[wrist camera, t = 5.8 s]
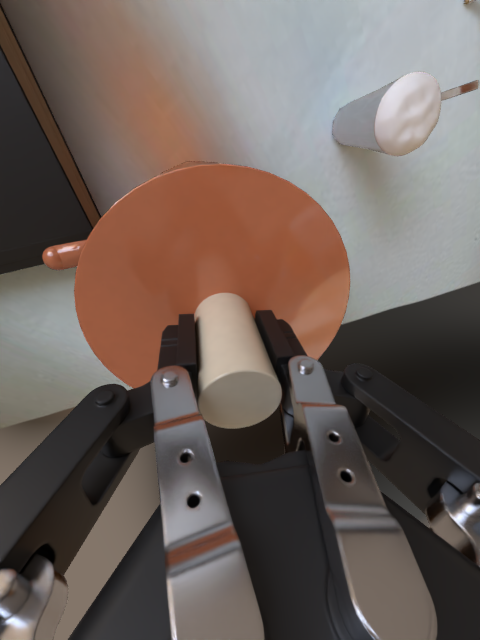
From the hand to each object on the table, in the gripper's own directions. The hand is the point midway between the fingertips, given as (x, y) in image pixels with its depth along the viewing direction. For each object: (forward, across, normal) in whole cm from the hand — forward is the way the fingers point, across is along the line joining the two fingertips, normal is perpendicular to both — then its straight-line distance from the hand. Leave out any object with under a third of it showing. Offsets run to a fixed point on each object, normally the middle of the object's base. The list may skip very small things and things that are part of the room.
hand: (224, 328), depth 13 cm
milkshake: (+18, -14, -10) cm, 25 cm away
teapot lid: (+1, 0, 0) cm, 1 cm away
